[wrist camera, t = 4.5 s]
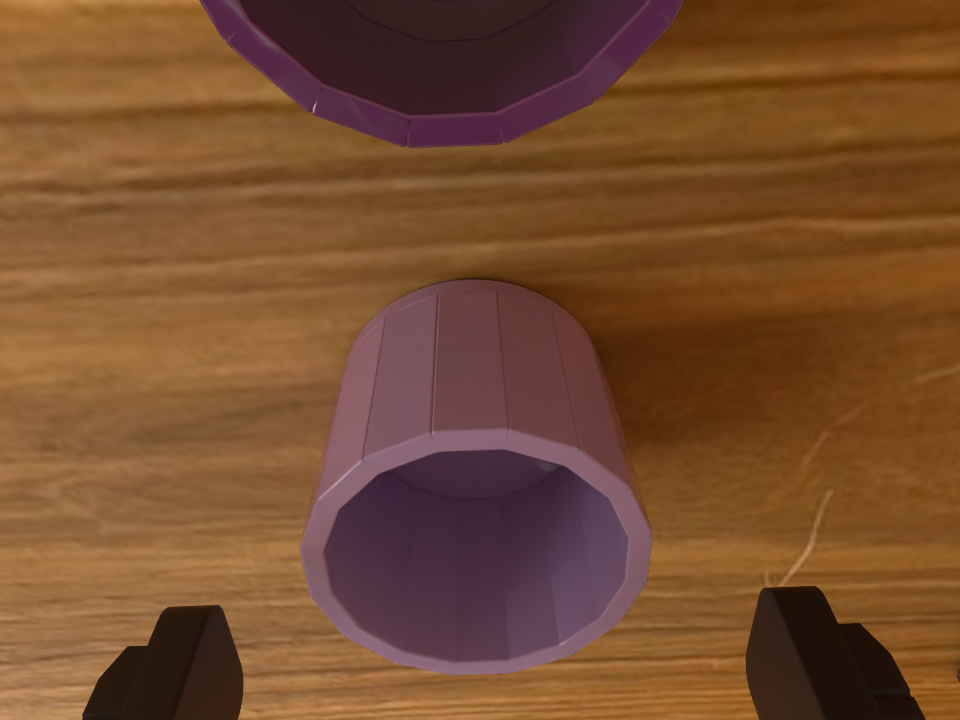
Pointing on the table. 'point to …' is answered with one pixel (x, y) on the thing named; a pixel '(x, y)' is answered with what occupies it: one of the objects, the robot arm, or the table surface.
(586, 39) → the purple faceted tumbler
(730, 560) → the table surface
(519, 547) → the lavender faceted cup
